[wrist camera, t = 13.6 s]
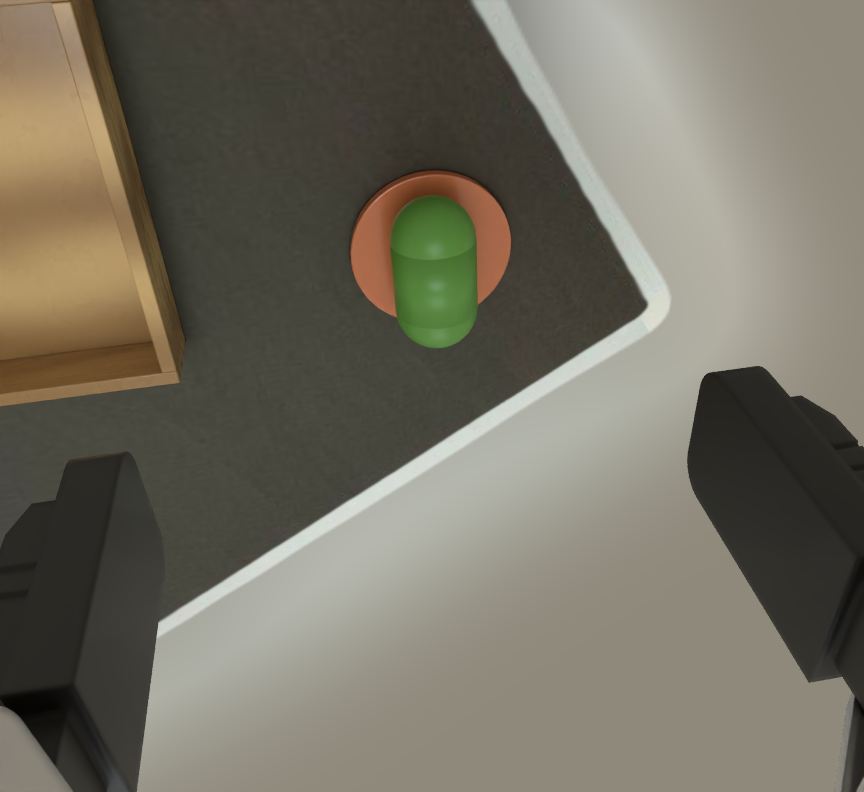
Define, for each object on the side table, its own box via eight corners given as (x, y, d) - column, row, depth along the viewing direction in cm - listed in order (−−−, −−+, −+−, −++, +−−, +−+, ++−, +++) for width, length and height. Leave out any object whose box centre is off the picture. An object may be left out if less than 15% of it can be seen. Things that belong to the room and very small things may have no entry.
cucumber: (385, 183, 38) (386, 220, 35) (471, 178, 38) (480, 214, 35) (397, 323, 43) (399, 366, 40) (474, 317, 43) (482, 361, 40)
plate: (340, 179, 38) (341, 184, 38) (509, 161, 39) (512, 165, 38) (358, 325, 43) (359, 331, 42) (508, 306, 44) (510, 312, 43)
